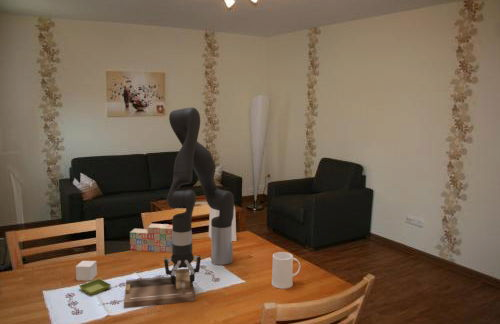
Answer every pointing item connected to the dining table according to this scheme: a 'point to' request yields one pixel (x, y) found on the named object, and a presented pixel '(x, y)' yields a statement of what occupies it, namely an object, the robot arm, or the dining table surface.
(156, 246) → the stack of blocks
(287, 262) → the mug
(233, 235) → the milk
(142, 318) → the dining table surface
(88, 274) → the white cube
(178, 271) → the gauge
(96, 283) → the green square dish
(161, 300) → the tray
